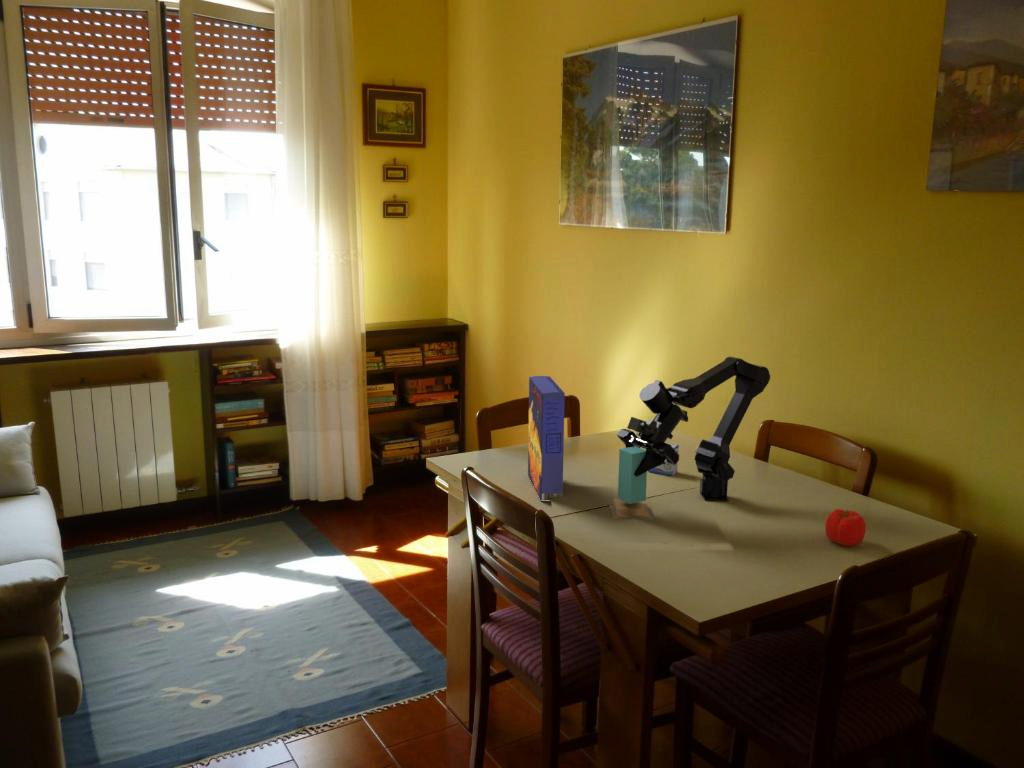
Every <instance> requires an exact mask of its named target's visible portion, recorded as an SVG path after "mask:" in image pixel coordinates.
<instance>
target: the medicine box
mask: <svg viewBox="0 0 1024 768" xmlns="http://www.w3.org/2000/svg"><path fill="white" fill-rule="evenodd" d="M667 444H670V445H671V446H672V447H673V448H674V449H675V451H676V452H677V453H678V454H679V447H680V444H674V443H668V442H667ZM664 462H665V465H663V464H662V465H660V466H657V467H655V468H653V469H651V470H649V471H647V473H652V474H657V473H658V475H665V476H671V477H672V476H675V475H676V474H677V473H678V467H679V464H678V463H679V461H678V462H677V463H676V465H675V466H674V465H672V464H669V463H667V459H666V460H665V461H664Z"/></svg>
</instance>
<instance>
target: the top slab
mask: <svg viewBox="0 0 1024 768" xmlns="http://www.w3.org/2000/svg"><path fill="white" fill-rule="evenodd" d="M612 505H613V507H614V509H615V512H616V515H617V517H649V510H650V508H649V506H647V505H648V504H647V501H641V502H637V503H632V504H629V503H627V502H625V501H623V500H621V499H619V498H618V497H617V498H615V497H614V498H613V504H612Z"/></svg>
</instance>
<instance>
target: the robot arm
mask: <svg viewBox="0 0 1024 768" xmlns="http://www.w3.org/2000/svg"><path fill="white" fill-rule="evenodd" d="M734 376H735V379H734V385H735V386H734V388H735V392H734V393H733V395H732V397H731V399H730V401H729V403H728V405H727V406H726V409H725V411H724V413H723V415H722V417H721V419H720V421H719V423H718V425H717V427H716V430H715V431H714V432H713V435H712V437H710V438H709V439H707V440H706V439H702V440H700V443H699V446H698V448H697V449H696V450H695V455H694V461H695V464H696V468H697V472H698V473H700V474H702V477H701V478H699V479H700V481H699V494H700V495H701V496H702V499H703V500H704V501H729V499H730V498H729V497H728V483H729V481H730V480H731V479H733V478H734V476H735V475H734V474H735V472H736V471H735V469H734V468H733V467H732V465H730V463H729V461H730V458H731V448H730V446H731V443H732V441H733V439H734V437H735V434H736V433H737V431H738V429H739V427H740V425H741V423H742V421H743V419H744V416H745V415H746V413H747V411H748V409H749V407H750V405H751V403H752V401H753V399H754V398H755V397H757V396H758V395H760V394H761V393H763V392H764V390H765V389H766V387H767V386H768V385H769V383H770V380H771V374H770V370H769V369H768V367H766V366H762V365H759V364H753V363H750V362H748V361H746V360H744V359H742V358H740V357H734V356H727V357H725V358H724V360H723V361H721V362H719V363H718V364H716V365H714V366H713V367H711V368H710V369H708V370H706V371H704V372H703V373H701V374H700V375H698V376H696V377H693V378H689V379H687V378H686V379H683V380H681V381H678V382H675V383H674V384H673V385H671V387H667V388H666V386H665V384H664V382H663V381H662V380H659V379H655V380H654V382H652V383H650V384H647V385H645V386H644V387H643V388H642V389H641V390H640V392H639V399H640V400H641V402H643V404H644V405H645V406H646V407H647V408H648V409H649V410H650V411H651V413H653V414H655V417H654V418H653V419H651V418H648V419H647V420H646V421H645V420H643V419H640V418H638V417H637V418H636V417H633V416H631V417H630V419H629V422H628V424H627V427H626V428H622V429H620V430H619V431H618V432H617V434H616V437H618V439H619V441H621V442H622V443H623V444H624V445H625V448H628V447H634V446H635V447H638V448H641V449H643V450H646V454H645V457H644V458H643V460H642V462H641V463H640V465H639V466H638V468H637V469H636V471H635V473H634V475H635V476H636V477H638V476H639V475H641V474H643V473H645V472H647V473H648V471H649V470H651V469H653V468H655V467H657V466H660V465H662V464H663V465H665V462H664V461H665V460H666V459H667V463H669V464H672V465H674V466H675V465H676V463H677V462H678V463H679V461H680V454H679V452H678V453H677V452H676V451H675V449H674V448H673V447H672V446H671V445H670V444H671V443H668V442H667V443H668V444H667V443H666V441H667V440H668V439H669V440H672V439H673V437H674V435H673V434H672V433H673V431H674V430H675V429H676V427H677V426H678V424H679V423H680V422H681V421H682V422H685V423H688V422H689V416H688V411H687V410H685V409H682V408H681V407H684V408H688V409H694V408H695V407H697V406H698V405H699V404H700V403H702V402H703V401H704V400H705V397H706V395H707V393H709V392H710V391H712V390H714V389H715V388H717V387H718V386H720V385H722V384H723V383H724V382H726V381H728V380H730V379H732V378H733V377H734ZM680 406H681V407H680ZM635 432H636V433H635Z"/></svg>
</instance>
